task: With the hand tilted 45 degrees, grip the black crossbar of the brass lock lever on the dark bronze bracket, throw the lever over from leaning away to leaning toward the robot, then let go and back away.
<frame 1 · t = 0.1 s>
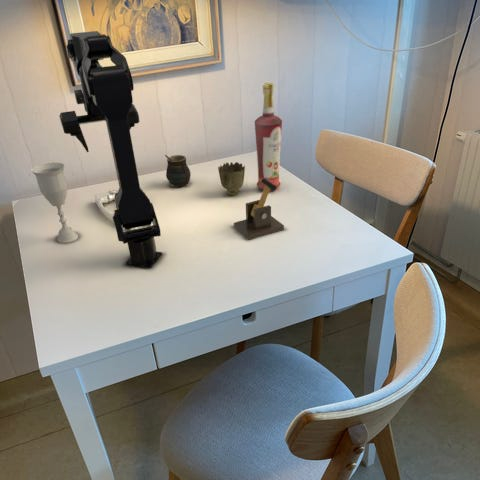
hand: (105, 148, 129), 15 cm above the table, tool pointing down, fingers open, 9 cm apart
chalice: (68, 238, 123), on the table
lock lever: (262, 199, 119), point 7 cm above the table, hinge at 115.0°
mate gourd: (179, 185, 148), on the table
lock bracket: (258, 228, 123), on the table
door handle: (123, 214, 133), on the table
liquor: (268, 189, 143), on the table
cup: (232, 194, 141), on the table
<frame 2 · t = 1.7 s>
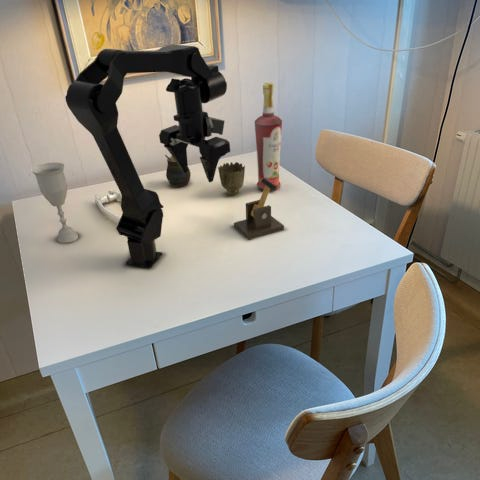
hand: (198, 176, 118), 13 cm above the table, tool pointing down, fingers open, 9 cm apart
nothing on the table moved.
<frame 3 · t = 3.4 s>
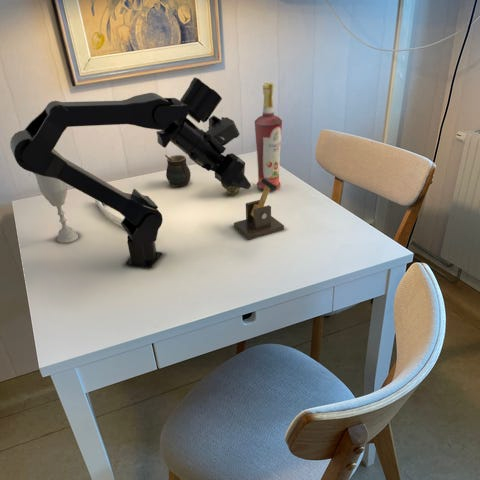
hand: (240, 180, 113), 13 cm above the table, tool tilted 45°, fingers open, 9 cm apart
nothing on the table moved.
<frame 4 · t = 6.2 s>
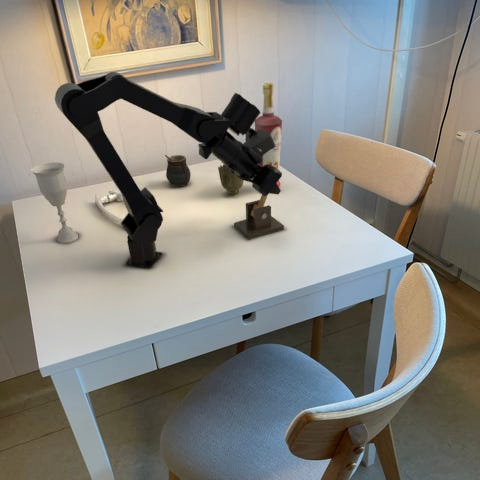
hand: (273, 188, 119), 9 cm above the table, tool tilted 45°, fingers closed on lock lever, 5 cm apart
lock lever: (262, 199, 119), point 7 cm above the table, hinge at 115.0°, touching gripper
everything else where it was.
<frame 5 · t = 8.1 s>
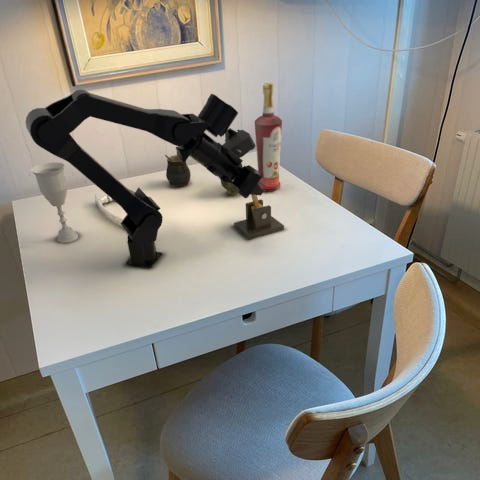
hand: (256, 189, 117), 10 cm above the table, tool tilted 45°, fingers closed on lock lever, 5 cm apart
lock lever: (255, 200, 118), point 8 cm above the table, hinge at 76.2°, touching gripper
everything else where it was.
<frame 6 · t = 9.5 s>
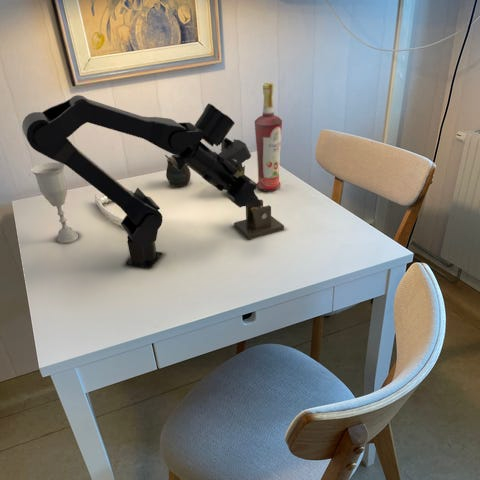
hand: (251, 199, 117), 8 cm above the table, tool tilted 45°, fingers open, 9 cm apart
lock lever: (253, 202, 118), point 7 cm above the table, hinge at 66.0°
everything else where it was.
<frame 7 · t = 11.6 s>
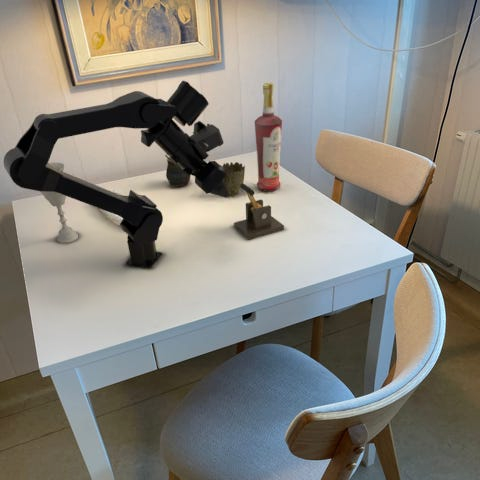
hand: (219, 188, 114), 12 cm above the table, tool tilted 40°, fingers open, 9 cm apart
nothing on the table moved.
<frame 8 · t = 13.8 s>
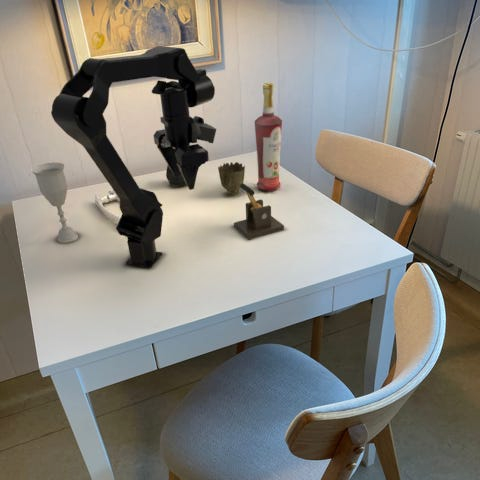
hand: (184, 182, 115), 13 cm above the table, tool pointing down, fingers open, 9 cm apart
nothing on the table moved.
at the end: lock lever at +66° (first picture: +115°) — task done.
